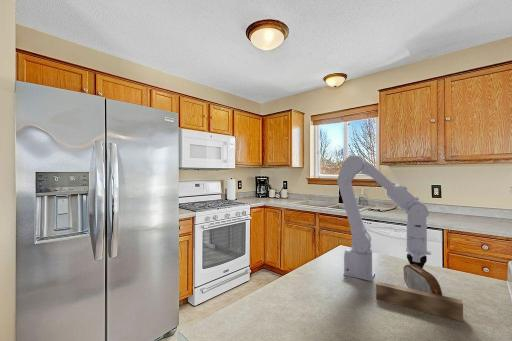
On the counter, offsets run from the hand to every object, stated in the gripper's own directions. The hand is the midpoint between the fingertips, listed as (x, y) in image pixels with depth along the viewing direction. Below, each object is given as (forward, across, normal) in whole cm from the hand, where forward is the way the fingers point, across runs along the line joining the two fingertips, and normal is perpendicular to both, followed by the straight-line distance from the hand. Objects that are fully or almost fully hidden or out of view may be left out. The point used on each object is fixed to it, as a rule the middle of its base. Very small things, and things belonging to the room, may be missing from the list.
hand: (416, 277), depth 83 cm
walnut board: (+2, -17, 0) cm, 17 cm away
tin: (+3, -9, -1) cm, 9 cm away
